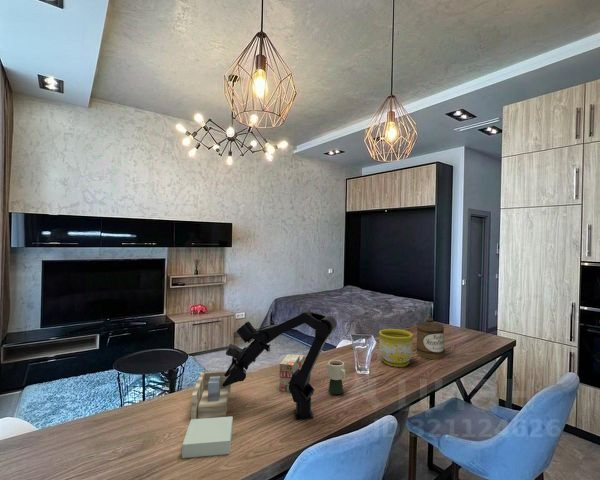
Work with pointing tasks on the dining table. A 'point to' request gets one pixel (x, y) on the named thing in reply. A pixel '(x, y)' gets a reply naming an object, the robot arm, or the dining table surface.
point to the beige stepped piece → (201, 397)
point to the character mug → (336, 376)
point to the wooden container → (430, 339)
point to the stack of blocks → (289, 369)
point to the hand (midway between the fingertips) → (223, 380)
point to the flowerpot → (395, 347)
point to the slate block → (214, 389)
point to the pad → (208, 437)
